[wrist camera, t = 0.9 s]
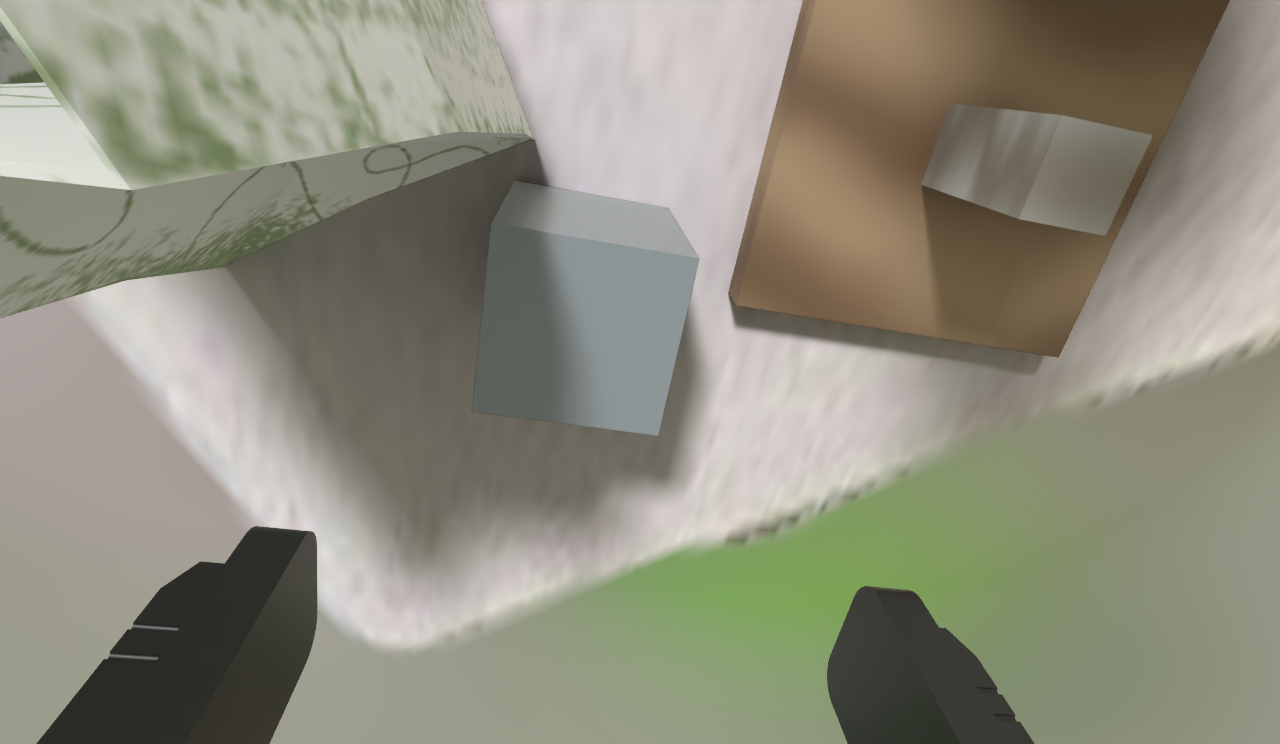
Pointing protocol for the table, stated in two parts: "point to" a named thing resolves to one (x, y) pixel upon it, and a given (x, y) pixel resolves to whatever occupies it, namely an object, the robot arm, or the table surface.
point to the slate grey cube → (582, 309)
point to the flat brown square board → (962, 160)
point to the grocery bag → (223, 126)
